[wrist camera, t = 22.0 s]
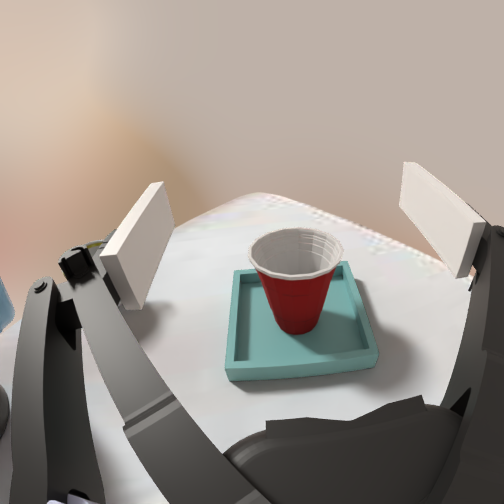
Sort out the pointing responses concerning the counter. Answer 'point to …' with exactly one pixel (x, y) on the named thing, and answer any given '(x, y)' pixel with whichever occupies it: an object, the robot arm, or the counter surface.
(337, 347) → the tray
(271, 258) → the plastic cup
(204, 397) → the counter surface
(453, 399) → the robot arm
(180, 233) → the counter surface
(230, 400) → the counter surface
